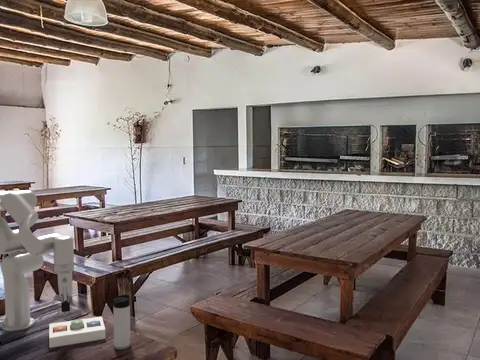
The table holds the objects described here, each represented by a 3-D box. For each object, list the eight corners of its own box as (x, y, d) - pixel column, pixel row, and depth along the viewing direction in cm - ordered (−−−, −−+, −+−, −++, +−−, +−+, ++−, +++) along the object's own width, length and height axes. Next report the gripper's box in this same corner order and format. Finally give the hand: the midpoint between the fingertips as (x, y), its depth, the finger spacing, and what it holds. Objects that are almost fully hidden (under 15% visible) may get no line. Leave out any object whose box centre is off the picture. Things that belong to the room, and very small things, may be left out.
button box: (49, 347, 171) (49, 337, 170) (49, 333, 184) (49, 323, 183) (105, 338, 179) (105, 329, 179) (101, 325, 192) (101, 316, 191)
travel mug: (134, 345, 174) (133, 296, 172) (121, 351, 168) (120, 301, 166) (123, 340, 177) (123, 292, 175) (110, 347, 172) (109, 297, 170)
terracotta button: (54, 340, 176) (53, 331, 175) (54, 335, 180) (53, 326, 179) (66, 338, 177) (66, 329, 177) (66, 334, 182) (65, 324, 181)
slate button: (88, 335, 181) (88, 326, 180) (87, 330, 185) (87, 321, 185) (100, 333, 183) (99, 324, 182) (98, 329, 187) (98, 320, 186)
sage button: (71, 334, 178) (71, 324, 178) (70, 329, 182) (70, 320, 182) (83, 332, 180) (83, 323, 179) (82, 328, 184) (82, 318, 184)
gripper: (74, 271, 171) (76, 316, 173) (73, 261, 185) (75, 303, 187) (53, 273, 168) (55, 319, 170) (54, 263, 182) (56, 306, 184)
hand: (65, 311), depth 178 cm, fingers closed
